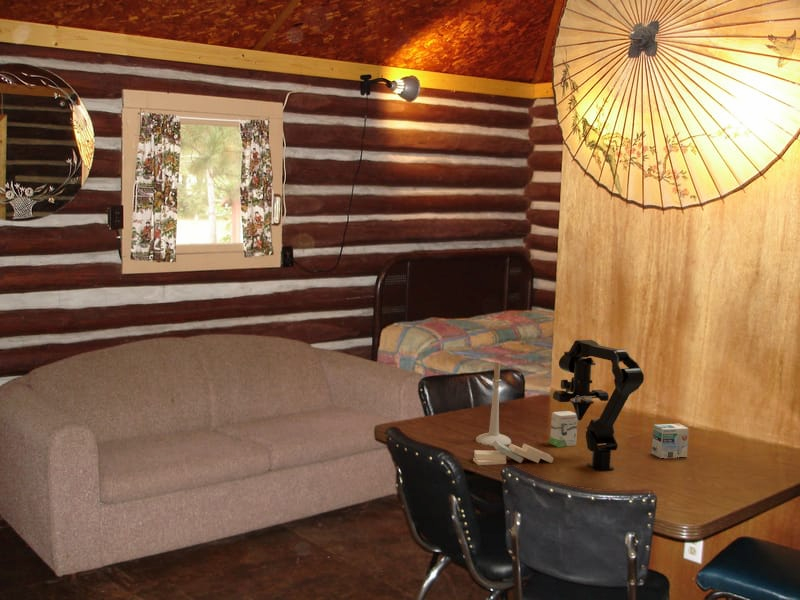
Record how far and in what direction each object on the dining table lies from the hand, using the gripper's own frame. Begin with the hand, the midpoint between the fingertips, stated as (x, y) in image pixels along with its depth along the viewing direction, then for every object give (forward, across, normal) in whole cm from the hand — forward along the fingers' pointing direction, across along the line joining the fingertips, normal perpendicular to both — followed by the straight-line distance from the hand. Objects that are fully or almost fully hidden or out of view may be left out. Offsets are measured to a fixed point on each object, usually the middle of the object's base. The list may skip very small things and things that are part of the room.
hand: (579, 420), depth 311 cm
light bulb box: (+13, -34, +4) cm, 37 cm away
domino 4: (+12, +17, +2) cm, 21 cm away
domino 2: (+13, +28, +1) cm, 31 cm away
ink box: (+13, -2, -15) cm, 20 cm away
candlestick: (+13, +22, -23) cm, 34 cm away
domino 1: (+11, +28, +1) cm, 30 cm away
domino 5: (+12, +12, +3) cm, 17 cm away
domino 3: (+12, +22, +2) cm, 25 cm away
